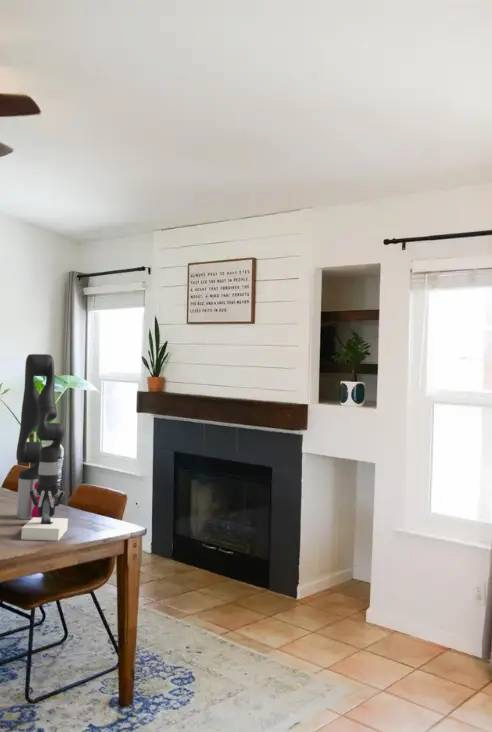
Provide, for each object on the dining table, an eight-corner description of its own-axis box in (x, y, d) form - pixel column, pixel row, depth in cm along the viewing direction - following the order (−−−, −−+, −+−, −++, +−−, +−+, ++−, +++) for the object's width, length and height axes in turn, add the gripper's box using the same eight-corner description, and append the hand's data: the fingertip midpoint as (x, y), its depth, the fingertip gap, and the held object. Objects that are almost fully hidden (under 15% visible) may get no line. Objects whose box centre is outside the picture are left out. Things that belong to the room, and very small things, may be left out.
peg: (42, 523, 287) (43, 498, 287) (51, 523, 287) (52, 498, 287) (40, 525, 283) (41, 499, 283) (49, 525, 283) (50, 500, 284)
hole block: (32, 528, 295) (33, 517, 295) (67, 529, 296) (68, 518, 296) (21, 539, 275) (21, 527, 275) (58, 540, 276) (58, 528, 276)
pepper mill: (30, 526, 298) (33, 478, 299) (30, 522, 305) (33, 475, 306) (48, 526, 300) (51, 478, 301) (48, 522, 307) (50, 475, 308)
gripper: (68, 472, 290) (65, 515, 290) (32, 471, 289) (30, 514, 289) (64, 475, 282) (62, 518, 282) (28, 473, 281) (25, 517, 281)
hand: (46, 516), depth 285 cm, fingers closed on peg, 3 cm apart
